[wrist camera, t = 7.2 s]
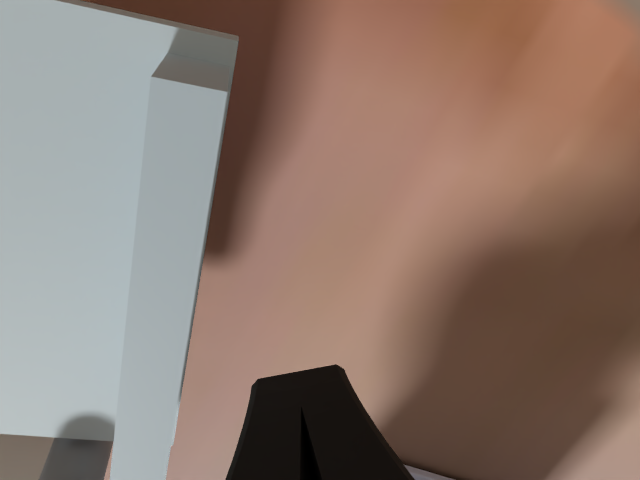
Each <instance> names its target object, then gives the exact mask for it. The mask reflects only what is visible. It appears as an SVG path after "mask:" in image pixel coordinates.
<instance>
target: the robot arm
mask: <svg viewBox="0 0 640 480" xmlns="http://www.w3.org/2000/svg"><path fill="white" fill-rule="evenodd" d="M226 480H454V479H451V478H448V477H444V476H441V475H438V474H434V473H431V472H427V471H424V470H421V469H417V468H414V467H411V466H407V465H404V464H403V463H402V462H401V460H400V459H399V458H398V456H397V455H396V454H395V452H394V451H393V450H392V448H391V447H390V446H389V444H388V443H387V442H386V440H385V439H384V437H383V436H382V434H381V433H380V431H379V430H378V429H377V427H376V426H375V424H374V422H373V421H372V419H371V418H370V416H369V415H368V413H367V412H366V410H365V408H364V407H363V405H362V403H361V402H360V400H359V398H358V397H357V395H356V393H355V391H354V389H353V388H352V386H351V384H350V382H349V380H348V377H347V375H346V373H345V370H344V369H343V368H341V367H340V366H338V365H331V366H325V367H320V368H314V369H309V370H304V371H298V372H293V373H287V374H282V375H277V376H271V377H266V378H260V379H257V381H256V382H255V383H254V384H253V385H252V388H251V394H250V400H249V404H248V409H247V413H246V417H245V421H244V424H243V428H242V431H241V435H240V438H239V441H238V444H237V448H236V451H235V454H234V457H233V460H232V463H231V466H230V468H229V471H228V474H227V477H226Z"/></svg>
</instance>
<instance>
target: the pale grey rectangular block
mask: <svg viewBox="0 0 640 480" xmlns="http://www.w3.org/2000/svg"><path fill="white" fill-rule="evenodd" d="M112 445H113V441H100V440H85V439H70V438H55V437H40V436H25V435H10V434H0V480H104V476H105V472H106V468H107V464H108V460H109V457H110V453H111V449H112Z"/></svg>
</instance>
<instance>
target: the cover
mask: <svg viewBox="0 0 640 480" xmlns="http://www.w3.org/2000/svg"><path fill="white" fill-rule="evenodd" d="M238 42H239V36H237V35H232V34H228V33H223V32H219V31H215V30H210V29H206V28H201V27H197V26H192V25H188V24H183V23H179V22H175V21H170V20H166V19H161V18H157V17H152V16H148V15H143V14H139V13H135V12H130V11H126V10H121V9H117V8H112V7H108V6H103V5H99V4H95V3H90V2H86V1H81V0H0V434H10V435H25V436H40V437H55V438H70V439H85V440H100V441H114V442H113V452H112V462H111V472H110V480H166V474H167V467H168V461H169V455H170V449H171V445H173V443H174V437H175V430H176V424H177V418H178V412H179V406H180V400H181V393H182V387H183V381H184V375H185V369H186V363H187V356H188V350H189V344H190V338H191V332H192V326H193V319H194V313H195V307H196V301H197V295H198V289H199V282H200V276H201V270H202V264H203V258H204V252H205V245H206V239H207V233H208V227H209V221H210V215H211V208H212V202H213V196H214V190H215V184H216V178H217V172H218V165H219V159H220V153H221V147H222V141H223V135H224V128H225V122H226V116H227V110H228V104H229V98H230V91H231V85H232V79H233V73H234V67H235V61H236V54H237V48H238Z"/></svg>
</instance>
